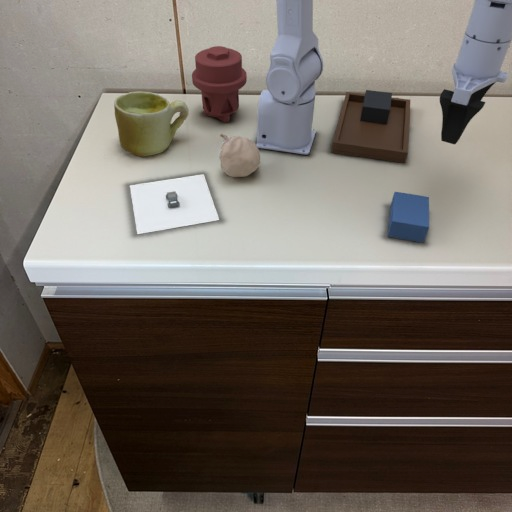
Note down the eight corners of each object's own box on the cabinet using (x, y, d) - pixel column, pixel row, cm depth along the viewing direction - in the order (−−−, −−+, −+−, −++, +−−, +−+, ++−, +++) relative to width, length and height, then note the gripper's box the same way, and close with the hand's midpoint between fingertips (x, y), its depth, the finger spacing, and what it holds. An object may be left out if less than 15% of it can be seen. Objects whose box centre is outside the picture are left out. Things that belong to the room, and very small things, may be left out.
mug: (108, 156, 78) (111, 93, 73) (116, 142, 87) (119, 85, 83) (183, 166, 80) (190, 106, 76) (183, 151, 89) (189, 96, 85)
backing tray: (331, 152, 83) (332, 142, 81) (344, 101, 96) (346, 91, 95) (404, 163, 81) (407, 152, 79) (407, 109, 94) (410, 99, 93)
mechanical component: (184, 117, 91) (217, 97, 97) (225, 133, 87) (256, 111, 93) (177, 52, 82) (214, 35, 88) (222, 67, 78) (257, 48, 84)
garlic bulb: (226, 160, 81) (224, 117, 75) (263, 164, 80) (264, 121, 74) (216, 182, 76) (214, 139, 70) (255, 187, 75) (256, 143, 70)
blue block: (387, 236, 67) (392, 220, 65) (390, 207, 72) (394, 191, 70) (423, 243, 66) (429, 227, 64) (423, 212, 71) (429, 196, 69)
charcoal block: (360, 121, 89) (362, 106, 87) (363, 104, 94) (366, 89, 92) (386, 124, 89) (390, 109, 86) (388, 107, 93) (392, 92, 91)
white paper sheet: (203, 174, 78) (202, 166, 77) (219, 220, 70) (218, 212, 69) (129, 185, 75) (128, 177, 74) (137, 234, 67) (135, 226, 66)
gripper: (510, 61, 55) (471, 161, 64) (530, 23, 63) (493, 116, 73) (449, 48, 57) (420, 146, 67) (476, 14, 66) (448, 104, 76)
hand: (455, 129), depth 70 cm, fingers open, 7 cm apart
